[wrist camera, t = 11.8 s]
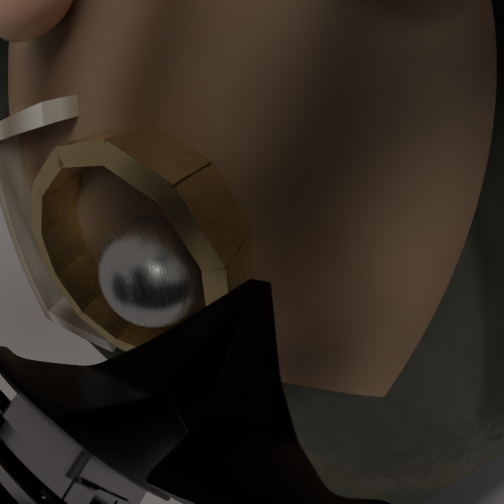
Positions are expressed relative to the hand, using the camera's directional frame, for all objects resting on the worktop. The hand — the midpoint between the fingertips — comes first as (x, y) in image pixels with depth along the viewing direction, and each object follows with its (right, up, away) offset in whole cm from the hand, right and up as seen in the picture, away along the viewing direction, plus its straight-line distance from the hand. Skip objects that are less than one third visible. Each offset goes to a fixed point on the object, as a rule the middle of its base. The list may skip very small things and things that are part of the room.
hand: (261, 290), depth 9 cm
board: (-3, +5, +1) cm, 6 cm away
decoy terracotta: (-9, +11, -5) cm, 15 cm away
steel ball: (-4, +1, 0) cm, 4 cm away
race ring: (-5, +2, +3) cm, 6 cm away
